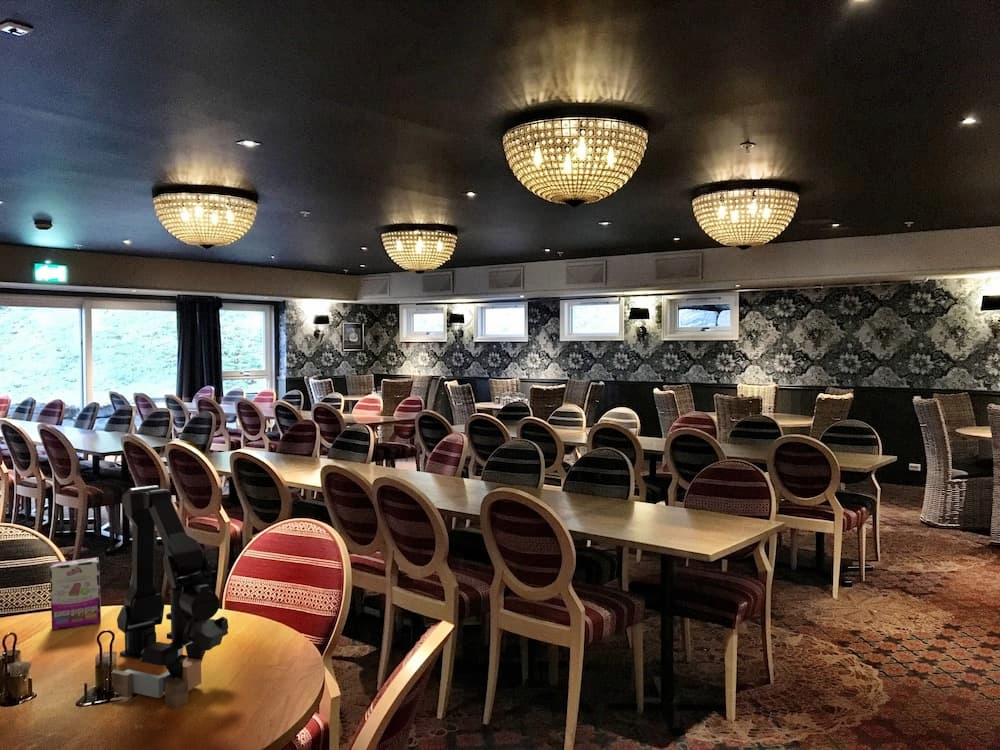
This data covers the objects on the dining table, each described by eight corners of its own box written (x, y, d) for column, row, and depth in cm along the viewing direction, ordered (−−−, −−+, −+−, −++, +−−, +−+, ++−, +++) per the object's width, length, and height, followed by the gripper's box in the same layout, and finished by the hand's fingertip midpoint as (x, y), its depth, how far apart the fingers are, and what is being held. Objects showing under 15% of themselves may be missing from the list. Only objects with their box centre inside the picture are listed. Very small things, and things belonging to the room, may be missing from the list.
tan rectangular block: (172, 688, 161) (171, 664, 160) (186, 680, 164) (186, 657, 164) (187, 691, 159) (186, 667, 159) (201, 683, 163) (201, 660, 163)
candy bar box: (100, 617, 205) (99, 556, 204) (101, 623, 200) (99, 561, 200) (52, 624, 200) (50, 561, 199) (51, 631, 195) (49, 566, 194)
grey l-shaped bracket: (123, 690, 161) (123, 671, 161) (148, 677, 167) (148, 659, 167) (158, 698, 157) (158, 678, 157) (183, 684, 164) (183, 666, 163)
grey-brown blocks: (102, 691, 161) (101, 670, 161) (114, 685, 164) (113, 664, 164) (177, 707, 154) (176, 685, 154) (188, 701, 156) (187, 679, 156)
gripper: (182, 628, 150) (183, 707, 150) (246, 598, 167) (247, 669, 168) (138, 620, 154) (140, 697, 154) (205, 592, 171) (206, 661, 172)
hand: (186, 681), depth 162 cm, fingers closed on tan rectangular block, 4 cm apart
